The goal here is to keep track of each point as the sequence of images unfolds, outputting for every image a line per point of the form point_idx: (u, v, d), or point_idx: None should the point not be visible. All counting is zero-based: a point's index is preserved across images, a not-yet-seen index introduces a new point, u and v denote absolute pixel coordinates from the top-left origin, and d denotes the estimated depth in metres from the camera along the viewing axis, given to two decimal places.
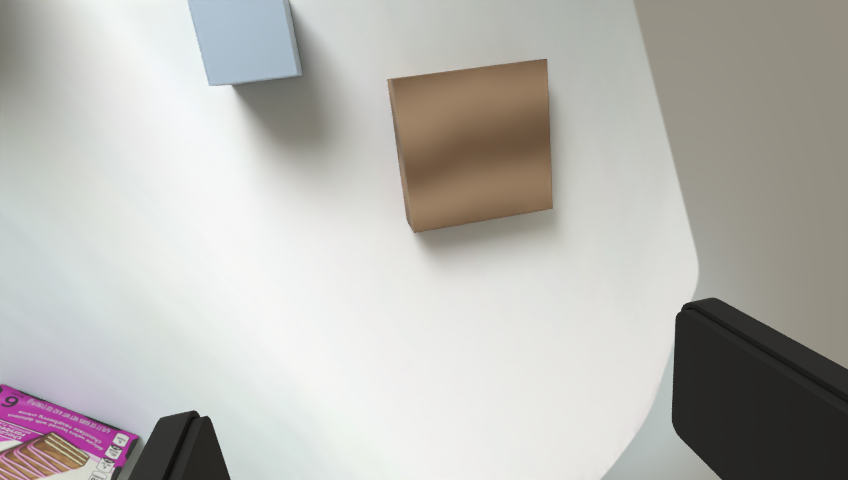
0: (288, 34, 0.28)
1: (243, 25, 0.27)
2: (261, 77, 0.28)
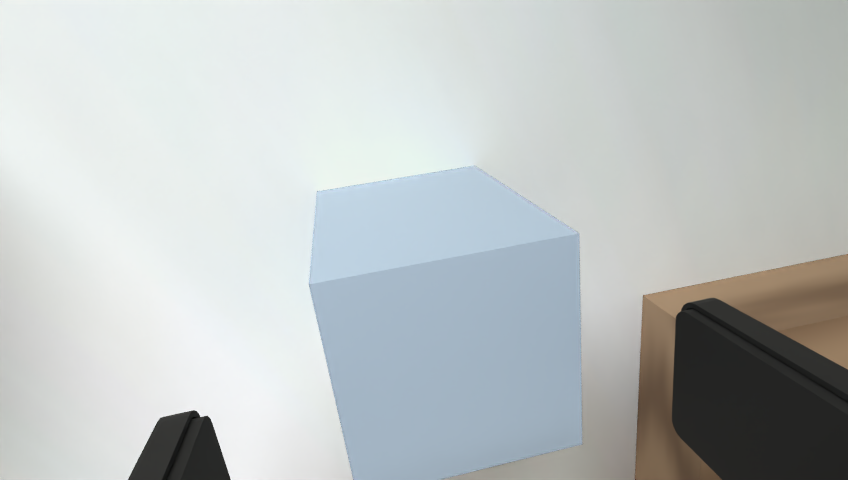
0: (577, 360, 0.10)
1: (464, 355, 0.10)
2: (493, 462, 0.11)
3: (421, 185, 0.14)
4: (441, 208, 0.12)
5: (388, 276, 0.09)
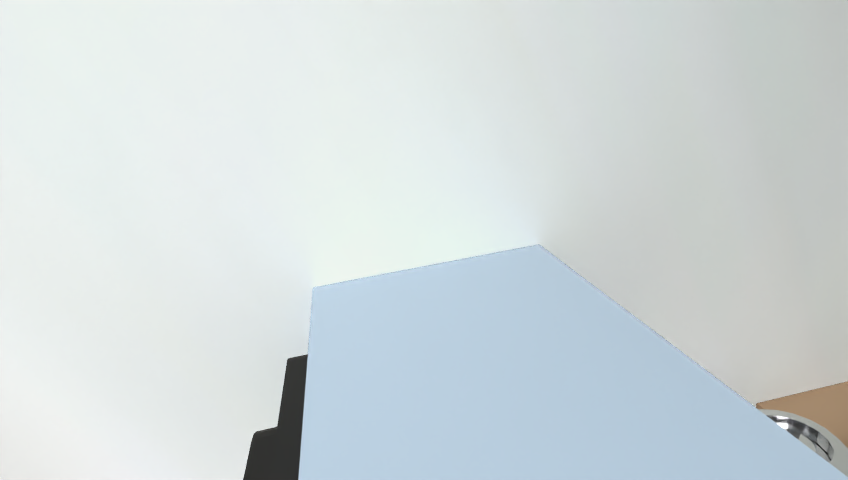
0: None
1: None
2: None
3: (470, 286, 0.09)
4: (520, 355, 0.07)
5: None
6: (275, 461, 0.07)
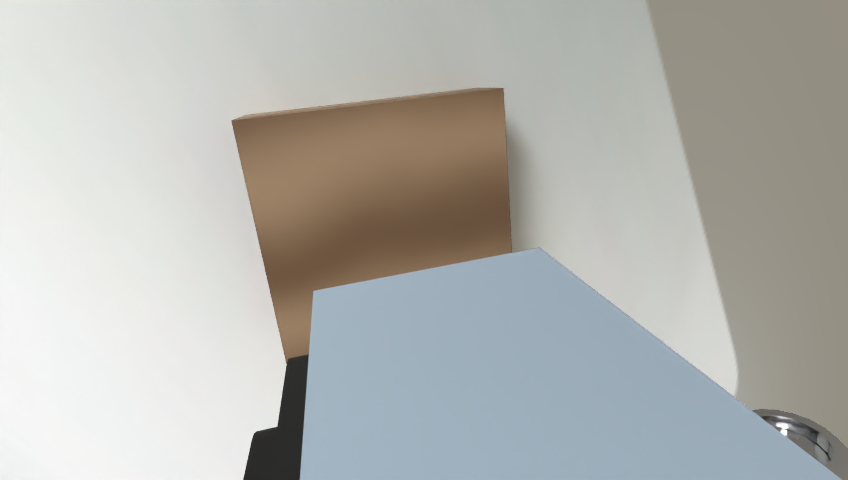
0: None
1: None
2: None
3: (470, 290, 0.09)
4: (521, 360, 0.07)
5: None
6: (275, 461, 0.07)
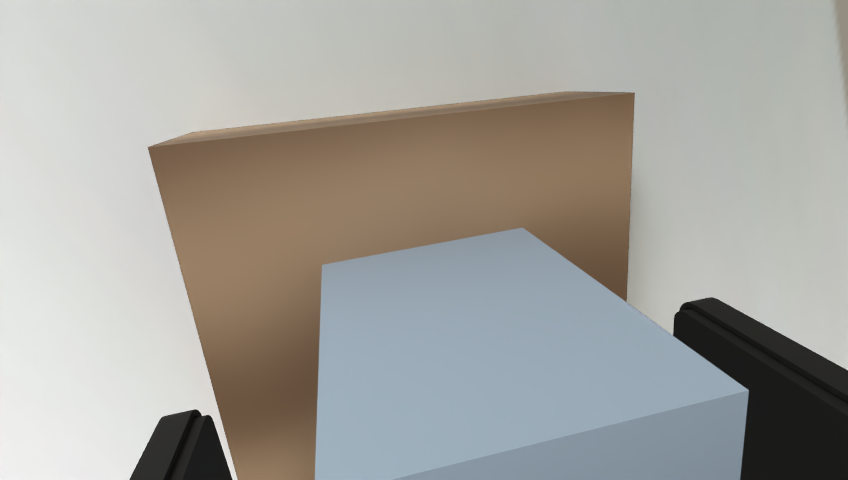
0: None
1: None
2: None
3: (460, 261, 0.11)
4: (499, 311, 0.08)
5: (446, 476, 0.05)
6: None
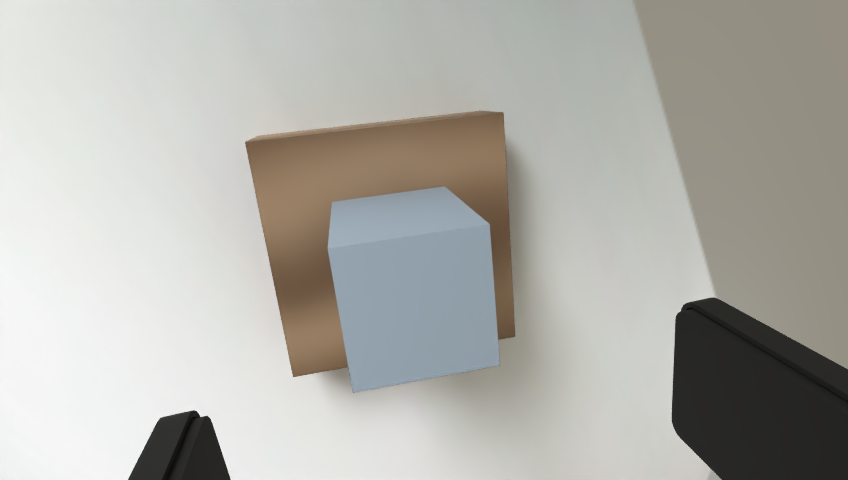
0: (493, 306, 0.16)
1: (420, 298, 0.15)
2: (440, 373, 0.16)
3: (404, 198, 0.20)
4: (413, 211, 0.18)
5: (374, 245, 0.15)
6: None
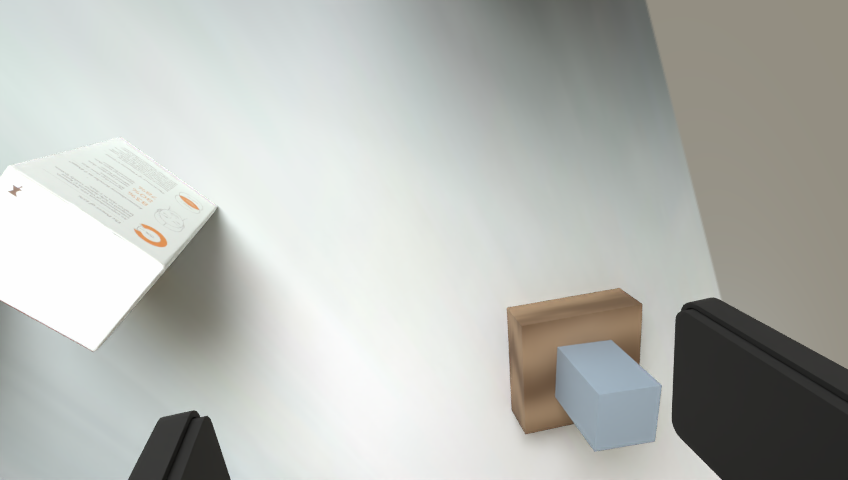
0: (656, 417, 0.37)
1: (629, 413, 0.36)
2: (630, 444, 0.37)
3: (598, 350, 0.41)
4: (614, 367, 0.39)
5: (616, 393, 0.36)
6: None
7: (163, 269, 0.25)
